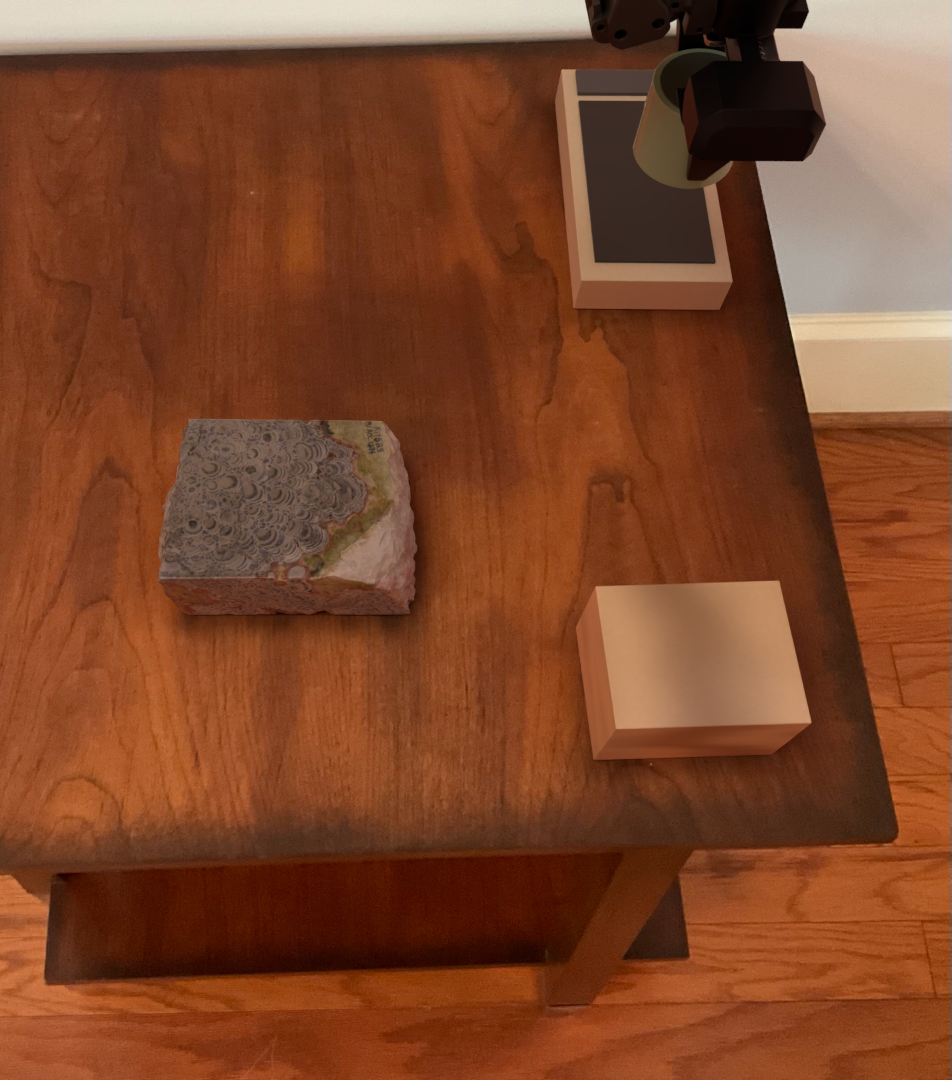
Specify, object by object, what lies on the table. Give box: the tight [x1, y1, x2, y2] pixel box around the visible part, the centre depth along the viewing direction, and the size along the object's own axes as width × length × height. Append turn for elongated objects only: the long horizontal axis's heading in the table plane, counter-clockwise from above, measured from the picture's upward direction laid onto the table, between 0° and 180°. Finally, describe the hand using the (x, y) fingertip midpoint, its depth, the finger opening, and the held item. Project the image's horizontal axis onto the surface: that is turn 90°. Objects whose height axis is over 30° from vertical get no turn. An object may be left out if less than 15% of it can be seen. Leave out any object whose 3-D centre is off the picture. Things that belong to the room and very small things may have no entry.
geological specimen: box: [157, 418, 418, 616], centre depth 65 cm, size 11×6×15 cm
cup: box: [633, 48, 734, 189], centre depth 63 cm, size 6×6×5 cm
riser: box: [575, 580, 812, 761], centre depth 60 cm, size 10×8×6 cm
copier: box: [554, 68, 733, 311], centre depth 77 cm, size 20×10×4 cm, turn 179°
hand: (688, 139), depth 65 cm, fingers closed on cup, 6 cm apart
